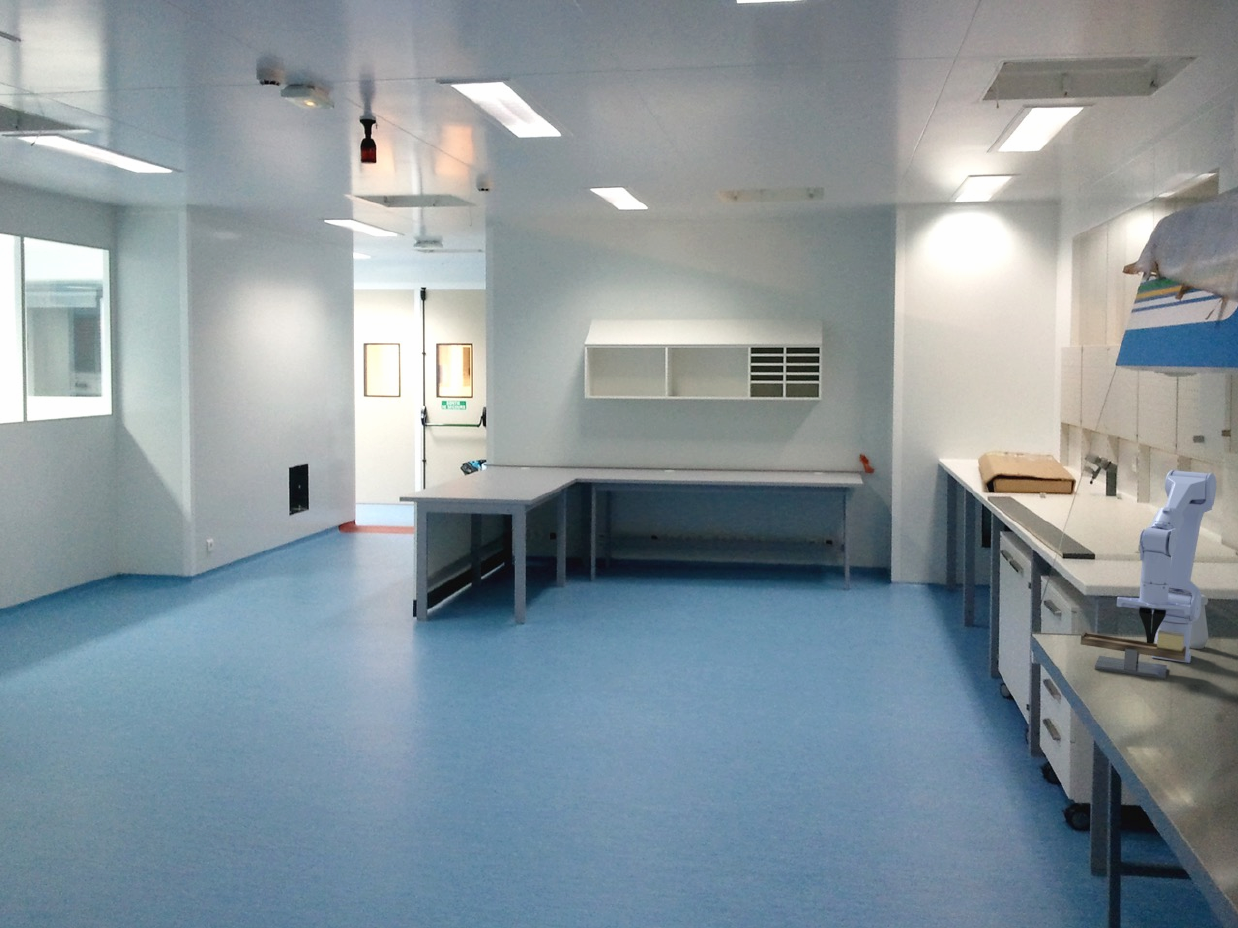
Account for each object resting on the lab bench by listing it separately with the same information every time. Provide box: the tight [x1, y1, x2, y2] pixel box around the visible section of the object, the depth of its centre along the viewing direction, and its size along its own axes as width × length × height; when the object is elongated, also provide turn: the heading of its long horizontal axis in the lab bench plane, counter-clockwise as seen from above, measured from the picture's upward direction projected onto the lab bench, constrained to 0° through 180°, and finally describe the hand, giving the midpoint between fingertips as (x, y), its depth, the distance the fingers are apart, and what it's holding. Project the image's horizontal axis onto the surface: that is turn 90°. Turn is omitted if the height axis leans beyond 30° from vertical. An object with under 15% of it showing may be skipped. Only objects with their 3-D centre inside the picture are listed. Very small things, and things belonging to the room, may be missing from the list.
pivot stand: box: [1094, 648, 1168, 680], centre depth 241 cm, size 10×14×5 cm
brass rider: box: [1157, 630, 1184, 653], centre depth 237 cm, size 4×5×4 cm
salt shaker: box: [1189, 594, 1210, 650], centre depth 263 cm, size 6×6×13 cm
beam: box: [1079, 630, 1186, 661], centre depth 241 cm, size 21×7×3 cm, turn 61°
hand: (1150, 642), depth 239 cm, fingers closed
